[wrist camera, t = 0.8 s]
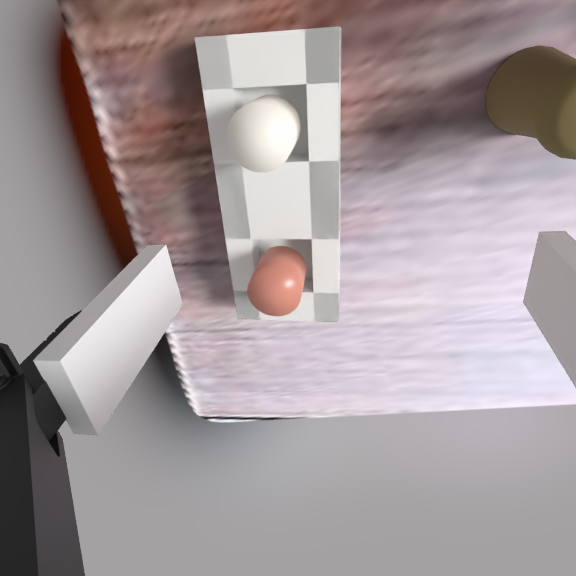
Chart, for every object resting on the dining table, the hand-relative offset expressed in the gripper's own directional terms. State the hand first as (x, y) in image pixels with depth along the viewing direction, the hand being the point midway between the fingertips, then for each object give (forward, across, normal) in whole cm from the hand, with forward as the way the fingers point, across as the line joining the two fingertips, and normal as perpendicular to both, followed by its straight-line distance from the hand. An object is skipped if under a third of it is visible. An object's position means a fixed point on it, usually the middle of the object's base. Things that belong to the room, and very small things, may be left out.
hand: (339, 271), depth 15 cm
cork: (+23, +13, +2) cm, 27 cm away
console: (+23, -6, -4) cm, 24 cm away
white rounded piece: (+19, -6, +2) cm, 20 cm away
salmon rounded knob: (+18, -6, -10) cm, 22 cm away
